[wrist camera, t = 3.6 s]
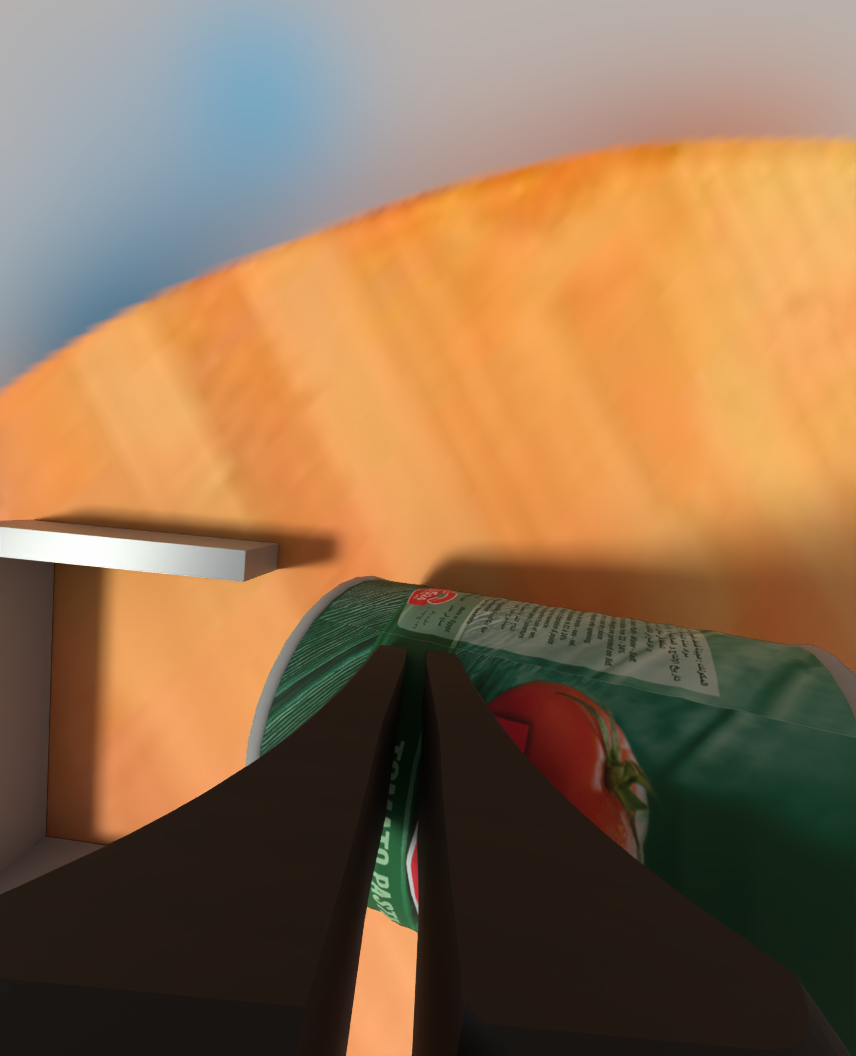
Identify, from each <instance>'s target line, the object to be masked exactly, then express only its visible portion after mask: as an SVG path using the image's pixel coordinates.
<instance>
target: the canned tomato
mask: <svg viewBox="0 0 856 1056" xmlns="http://www.w3.org/2000/svg"><path fill="white" fill-rule="evenodd" d="M380 645H387V646H397V647H408V648H407V658H406V667H405V676H404V685H403V694H402V703H401V712H400V719H399V725H398V732H397V738H396V745H395V751H394V758H393V765H392V773H391V780H390V787H389V795H388V802H387V810H386V818H385V822H384V827H383V832H382V836H381V841H380V846H379V850H378V855H377V860H376V864H375V869H374V874H373V878H372V883H371V888H370V893H369V898H368V904H367V907H369V908H371V909H375V910H378V911H380V912H382V913H383V914H385V915H386V916H387V917H388V918H389V919H390V920H392V921H394V922H396V923H397V924H399V925H401V926H404V927H407V928H410V929H412V930H414V931H416V932H417V933H418V859H417V830H418V816H419V794H420V773H421V741H422V704H423V691H424V678H425V665H426V652H427V649H429V650H435V651H441V652H446V653H452V654H455V655H456V656H457V658H458V659H459V660H460V662H461V663H462V665H463V667H464V669H465V671H466V673H467V674H468V676H469V678H470V679H471V681H472V683H473V684H474V686H475V688H476V689H477V691H478V692H479V694H480V696H481V697H482V699H483V700H484V701H485V703H486V704H487V706H488V707H489V709H490V710H491V712H492V713H493V715H494V716H495V717H496V719H497V720H498V722H499V723H500V724H501V726H502V727H503V728H504V730H505V731H506V732H507V733H508V735H509V736H510V737H511V738H512V740H513V741H514V742H515V744H516V745H517V746H518V747H519V748H520V750H521V751H522V752H523V753H524V754H525V756H526V757H527V758H528V759H529V760H530V761H531V762H532V763H533V764H534V765H535V766H536V768H537V769H538V770H539V771H540V772H541V773H542V774H543V775H544V776H545V777H546V778H547V779H548V780H549V781H550V782H551V784H552V785H553V786H554V787H555V788H557V789H558V790H559V791H560V792H561V793H562V794H563V795H564V796H565V797H566V798H567V799H568V800H569V801H570V802H571V803H572V804H573V805H574V806H575V807H577V808H578V809H579V810H580V811H581V812H582V813H583V814H584V815H585V816H586V817H588V818H589V819H590V820H591V821H592V822H593V823H594V824H595V825H596V826H597V827H599V828H600V829H601V830H602V831H603V832H604V833H605V834H606V835H608V836H609V837H610V838H611V839H612V840H614V841H615V842H616V843H617V844H618V845H620V846H621V847H622V848H623V849H624V850H626V851H627V852H628V853H629V854H630V855H632V856H633V857H634V858H635V859H637V860H638V861H639V862H641V863H642V864H643V865H644V866H646V867H647V868H648V869H649V870H651V871H652V872H653V873H655V874H656V875H657V876H658V877H660V878H661V879H662V880H663V881H665V882H666V883H667V884H669V885H670V886H671V887H672V888H674V889H675V890H676V891H678V892H679V893H680V894H682V895H683V896H684V897H686V898H687V899H688V900H690V901H691V902H692V903H694V904H695V905H697V906H698V907H700V908H701V909H702V910H704V911H705V912H707V913H708V914H710V915H711V916H712V917H714V918H715V919H717V920H718V921H720V922H721V923H722V924H724V925H725V926H727V927H728V928H730V929H731V930H732V931H734V932H735V933H737V934H738V935H740V936H741V937H742V938H744V939H745V940H747V941H748V942H750V943H751V944H753V945H754V946H755V947H757V948H758V949H760V950H761V951H763V952H764V953H765V954H767V955H768V956H770V957H771V958H773V959H774V960H775V961H777V962H778V963H780V964H781V965H783V966H784V967H785V968H787V969H788V970H790V971H791V972H793V973H794V974H795V975H796V977H797V978H798V980H799V981H800V983H801V984H802V985H803V987H804V988H805V989H806V991H807V992H808V994H809V995H810V996H811V998H812V999H813V1001H814V1002H815V1003H816V1005H817V1006H818V1008H819V1009H820V1011H821V1012H822V1014H823V1015H824V1016H825V1018H826V1019H827V1021H828V1022H829V1024H830V1025H831V1027H832V1028H833V1030H834V1031H835V1032H836V1034H837V1035H838V1037H839V1038H840V1040H841V1041H842V1043H843V1044H844V1046H845V1047H846V1049H847V1050H848V1052H849V1054H850V1055H851V1056H856V675H855V674H853V673H852V672H851V671H850V670H849V669H848V668H847V667H846V666H845V665H844V664H843V663H842V662H841V661H840V660H839V659H838V658H837V657H836V656H835V655H833V654H831V653H829V652H827V651H825V650H823V649H821V648H819V647H816V646H813V645H804V644H799V645H787V644H781V643H774V642H768V641H762V640H756V639H751V638H745V637H739V636H734V635H729V634H724V633H719V632H715V631H706V630H694V629H688V628H682V627H678V626H674V625H671V624H657V623H650V622H645V621H640V620H636V619H633V618H620V617H612V616H607V615H603V614H599V613H596V612H581V611H575V610H570V609H567V608H564V607H550V606H544V605H539V604H536V603H532V602H519V601H513V600H508V599H505V598H495V597H487V596H482V595H479V594H476V593H462V592H457V591H453V590H450V589H437V588H432V587H428V586H425V585H416V584H407V583H400V582H393V581H389V580H385V579H382V578H379V577H375V576H366V577H356V578H354V579H351V580H349V581H346V582H344V583H341V584H339V585H338V586H337V587H335V588H334V589H333V590H331V591H330V592H328V593H327V594H326V595H324V596H323V597H322V598H321V599H320V600H319V601H318V602H317V603H316V604H315V605H314V606H313V607H312V608H311V609H310V610H309V611H308V612H307V613H306V615H305V616H304V617H303V618H302V619H301V621H300V622H299V624H298V625H297V627H296V628H295V629H294V631H293V632H292V634H291V635H290V636H289V638H288V639H287V641H286V642H285V644H284V646H283V648H282V650H281V652H280V654H279V656H278V657H277V659H276V661H275V663H274V665H273V667H272V669H271V671H270V673H269V675H268V678H267V681H266V683H265V686H264V689H263V691H262V694H261V697H260V699H259V702H258V704H257V707H256V711H255V715H254V720H253V724H252V728H251V732H250V736H249V740H248V747H247V756H246V766H248V765H249V764H251V763H252V762H254V761H255V760H257V759H258V758H260V757H261V756H263V755H264V754H265V753H267V752H268V751H269V750H271V749H272V748H273V747H275V746H276V745H277V744H279V743H280V742H281V741H283V740H284V739H285V738H286V737H288V736H289V735H290V734H291V733H293V732H294V731H295V730H296V729H297V728H299V727H300V726H301V725H302V724H303V723H305V722H306V721H307V720H308V719H309V718H310V717H311V716H312V715H313V714H314V713H316V712H317V711H318V710H319V709H320V708H321V707H322V706H323V705H324V704H325V703H327V702H328V701H329V700H330V699H331V698H332V697H333V696H334V695H335V694H336V693H337V692H338V691H339V690H340V689H341V688H342V687H343V686H344V685H345V683H346V682H347V681H348V680H349V679H350V678H351V677H352V676H353V675H354V674H355V673H356V672H357V671H358V669H359V668H360V667H361V666H362V665H363V664H364V662H365V661H366V660H367V659H368V657H369V656H370V655H371V654H372V652H373V651H374V650H375V649H376V648H377V647H378V646H380ZM246 766H245V767H246Z"/></svg>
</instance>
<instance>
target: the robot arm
mask: <svg viewBox="0 0 856 1056" xmlns="http://www.w3.org/2000/svg"><path fill="white" fill-rule="evenodd" d="M407 648H408V647H397V646H387V645H380V646H378V647H377V648H376V649H375V650H374V651H373V652H372V654H371V655H370V656H369V657H368V659H367V660H366V661H365V662H364V664H363V665H362V666H361V667H360V668H359V669H358V671H357V672H356V673H355V674H354V675H353V676H352V677H351V678H350V679H349V680H348V681H347V682H346V683H345V685H344V686H343V687H342V688H341V689H340V690H339V691H338V692H337V693H336V694H335V695H334V696H333V697H332V698H331V699H330V700H329V701H328V702H327V703H325V704H324V705H323V706H322V707H321V708H320V709H319V710H318V711H317V712H316V713H314V714H313V715H312V716H311V717H310V718H309V719H308V720H307V721H306V722H305V723H303V724H302V725H301V726H300V727H299V728H297V729H296V730H295V731H294V732H293V733H291V734H290V735H289V736H288V737H286V738H285V739H284V740H283V741H281V742H280V743H279V744H277V745H276V746H275V747H273V748H272V749H271V750H269V751H268V752H267V753H265V754H264V755H263V756H261V757H260V758H258V759H257V760H255V761H254V762H252V763H251V764H249V765H248V766H246V767H245V768H243V769H242V770H240V771H238V772H237V773H235V774H234V775H232V776H231V777H229V778H228V779H226V780H224V781H223V782H221V783H220V784H218V785H217V786H215V787H213V788H212V789H210V790H209V791H207V792H205V793H204V794H202V795H200V796H199V797H197V798H195V799H193V800H192V801H190V802H188V803H186V804H184V805H183V806H181V807H179V808H177V809H176V810H174V811H172V812H170V813H168V814H167V815H165V816H163V817H161V818H159V819H157V820H155V821H153V822H151V823H150V824H148V825H146V826H144V827H142V828H140V829H138V830H136V831H134V832H133V833H131V834H129V835H127V836H125V837H123V838H121V839H119V840H117V841H115V842H113V843H111V844H109V845H107V846H104V847H102V848H100V849H98V850H96V851H94V852H92V853H89V854H87V855H85V856H83V857H81V858H79V859H76V860H74V861H72V862H70V863H68V864H66V865H63V866H61V867H59V868H57V869H55V870H53V871H50V872H48V873H46V874H44V875H42V876H40V877H38V878H35V879H33V880H31V881H29V882H27V883H25V884H22V885H20V886H18V887H16V888H13V889H11V890H9V891H7V892H4V893H2V894H0V1056H346V1051H347V1044H348V1037H349V1029H350V1022H351V1015H352V1007H353V1000H354V993H355V985H356V978H357V971H358V964H359V956H360V949H361V942H362V935H363V928H364V920H365V915H366V909H367V904H368V898H369V893H370V888H371V883H372V878H373V874H374V869H375V864H376V860H377V855H378V850H379V846H380V841H381V836H382V832H383V827H384V822H385V818H386V810H387V802H388V795H389V787H390V780H391V773H392V765H393V758H394V751H395V745H396V738H397V732H398V725H399V719H400V712H401V703H402V694H403V685H404V676H405V667H406V658H407ZM417 859H418V942H417V964H416V985H415V1006H414V1026H413V1046H412V1056H851V1055H850V1054H849V1052H848V1050H847V1049H846V1047H845V1046H844V1044H843V1043H842V1041H841V1040H840V1038H839V1037H838V1035H837V1034H836V1032H835V1031H834V1030H833V1028H832V1027H831V1025H830V1024H829V1022H828V1021H827V1019H826V1018H825V1016H824V1015H823V1014H822V1012H821V1011H820V1009H819V1008H818V1006H817V1005H816V1003H815V1002H814V1001H813V999H812V998H811V996H810V995H809V994H808V992H807V991H806V989H805V988H804V987H803V985H802V984H801V983H800V981H799V980H798V978H797V977H796V975H795V974H794V973H793V972H791V971H790V970H788V969H787V968H785V967H784V966H783V965H781V964H780V963H778V962H777V961H775V960H774V959H773V958H771V957H770V956H768V955H767V954H765V953H764V952H763V951H761V950H760V949H758V948H757V947H755V946H754V945H753V944H751V943H750V942H748V941H747V940H745V939H744V938H742V937H741V936H740V935H738V934H737V933H735V932H734V931H732V930H731V929H730V928H728V927H727V926H725V925H724V924H722V923H721V922H720V921H718V920H717V919H715V918H714V917H712V916H711V915H710V914H708V913H707V912H705V911H704V910H702V909H701V908H700V907H698V906H697V905H695V904H694V903H692V902H691V901H690V900H688V899H687V898H686V897H684V896H683V895H682V894H680V893H679V892H678V891H676V890H675V889H674V888H672V887H671V886H670V885H669V884H667V883H666V882H665V881H663V880H662V879H661V878H660V877H658V876H657V875H656V874H655V873H653V872H652V871H651V870H649V869H648V868H647V867H646V866H644V865H643V864H642V863H641V862H639V861H638V860H637V859H635V858H634V857H633V856H632V855H630V854H629V853H628V852H627V851H626V850H624V849H623V848H622V847H621V846H620V845H618V844H617V843H616V842H615V841H614V840H612V839H611V838H610V837H609V836H608V835H606V834H605V833H604V832H603V831H602V830H601V829H600V828H599V827H597V826H596V825H595V824H594V823H593V822H592V821H591V820H590V819H589V818H588V817H586V816H585V815H584V814H583V813H582V812H581V811H580V810H579V809H578V808H577V807H575V806H574V805H573V804H572V803H571V802H570V801H569V800H568V799H567V798H566V797H565V796H564V795H563V794H562V793H561V792H560V791H559V790H558V789H557V788H555V787H554V786H553V785H552V784H551V782H550V781H549V780H548V779H547V778H546V777H545V776H544V775H543V774H542V773H541V772H540V771H539V770H538V769H537V768H536V766H535V765H534V764H533V763H532V762H531V761H530V760H529V759H528V758H527V757H526V756H525V754H524V753H523V752H522V751H521V750H520V748H519V747H518V746H517V745H516V744H515V742H514V741H513V740H512V738H511V737H510V736H509V735H508V733H507V732H506V731H505V730H504V728H503V727H502V726H501V724H500V723H499V722H498V720H497V719H496V717H495V716H494V715H493V713H492V712H491V710H490V709H489V707H488V706H487V704H486V703H485V701H484V700H483V699H482V697H481V696H480V694H479V692H478V691H477V689H476V688H475V686H474V684H473V683H472V681H471V679H470V678H469V676H468V674H467V673H466V671H465V669H464V667H463V665H462V663H461V662H460V660H459V659H458V658H457V656H456V655H455V654H452V653H446V652H441V651H435V650H429V649H427V652H426V665H425V678H424V691H423V704H422V741H421V773H420V794H419V816H418V830H417Z"/></svg>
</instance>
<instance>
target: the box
mask: <svg viewBox="0 0 856 1056" xmlns="http://www.w3.org/2000/svg"><path fill="white" fill-rule="evenodd" d="M278 546H279V543H269V542H259V541H248V540H238V539H227V538H217V537H206V536H196V535H186V534H175V533H165V532H154V531H144V530H133V529H123V528H112V527H102V526H91V525H81V524H70V523H60V522H50V521H39V520H12V521H0V894H2V893H4V892H7V891H9V890H11V889H13V888H16V887H18V886H20V885H22V884H25V883H27V882H29V881H31V880H33V879H35V878H38V877H40V876H42V875H44V874H46V873H48V872H50V871H53V870H55V869H57V868H59V867H61V866H63V865H66V864H68V863H70V862H72V861H74V860H76V859H79V858H81V857H83V856H85V855H87V854H89V853H92V852H94V851H96V850H98V849H100V848H102V847H104V846H107V845H100V844H94V843H87V842H80V841H73V840H66V839H59V838H52V837H46V812H47V780H48V747H49V714H50V681H51V649H52V616H53V583H54V562H55V563H65V564H75V565H85V566H95V567H104V568H114V569H124V570H134V571H144V572H153V573H163V574H173V575H183V576H193V577H203V578H212V579H222V580H232V581H242V582H244V581H247V580H250V579H252V578H255V577H258V576H261V575H263V574H266V573H269V572H272V571H274V570H277V562H278Z"/></svg>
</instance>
